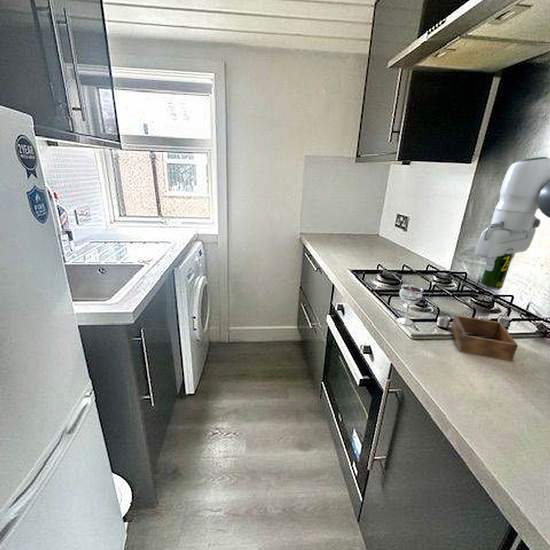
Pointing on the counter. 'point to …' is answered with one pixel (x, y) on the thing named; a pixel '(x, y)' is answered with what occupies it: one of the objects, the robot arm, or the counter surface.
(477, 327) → the brown wooden open box
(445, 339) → the counter surface
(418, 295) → the wineglass
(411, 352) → the counter surface
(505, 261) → the beer can
